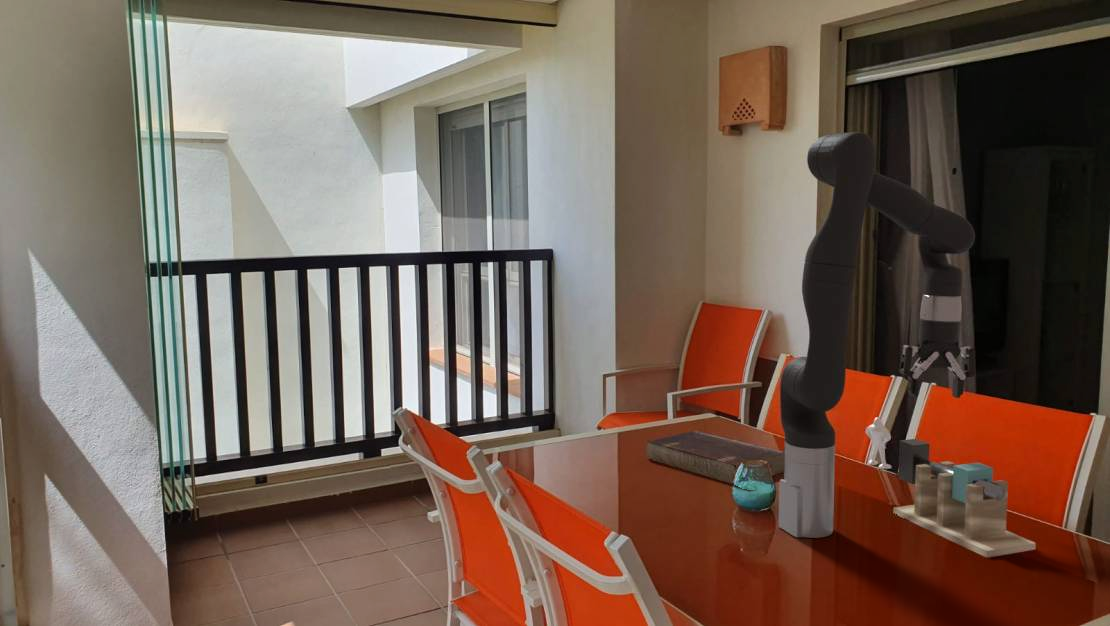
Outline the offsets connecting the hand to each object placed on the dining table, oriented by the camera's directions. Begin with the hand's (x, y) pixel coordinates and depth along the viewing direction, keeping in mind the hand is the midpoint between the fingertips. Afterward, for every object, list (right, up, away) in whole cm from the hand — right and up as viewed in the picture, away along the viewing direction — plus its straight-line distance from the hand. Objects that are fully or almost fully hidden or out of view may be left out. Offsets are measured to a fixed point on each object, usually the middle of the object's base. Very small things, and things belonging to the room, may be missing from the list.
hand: (935, 396), depth 174 cm
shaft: (-1, -18, -9) cm, 20 cm away
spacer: (+1, -18, -14) cm, 23 cm away
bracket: (0, -25, -11) cm, 27 cm away
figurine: (0, -20, +31) cm, 37 cm away
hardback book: (-38, -21, +35) cm, 55 cm away
